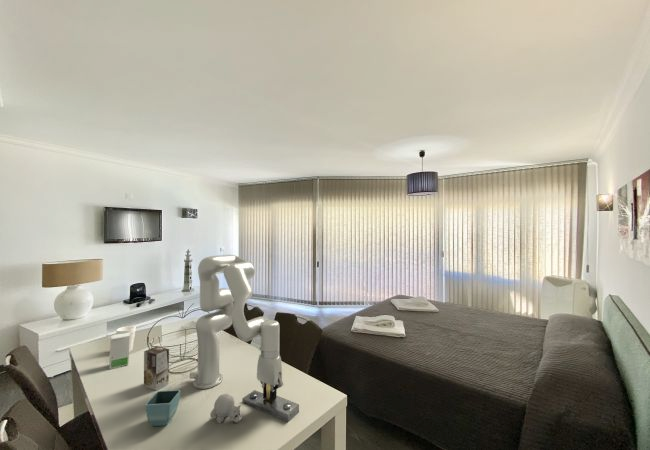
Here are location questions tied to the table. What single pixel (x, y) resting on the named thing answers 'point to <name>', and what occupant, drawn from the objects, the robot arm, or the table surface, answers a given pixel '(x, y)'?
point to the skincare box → (119, 350)
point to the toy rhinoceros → (226, 409)
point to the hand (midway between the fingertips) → (269, 398)
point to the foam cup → (131, 331)
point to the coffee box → (156, 367)
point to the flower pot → (162, 407)
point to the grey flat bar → (273, 405)
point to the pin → (268, 393)
